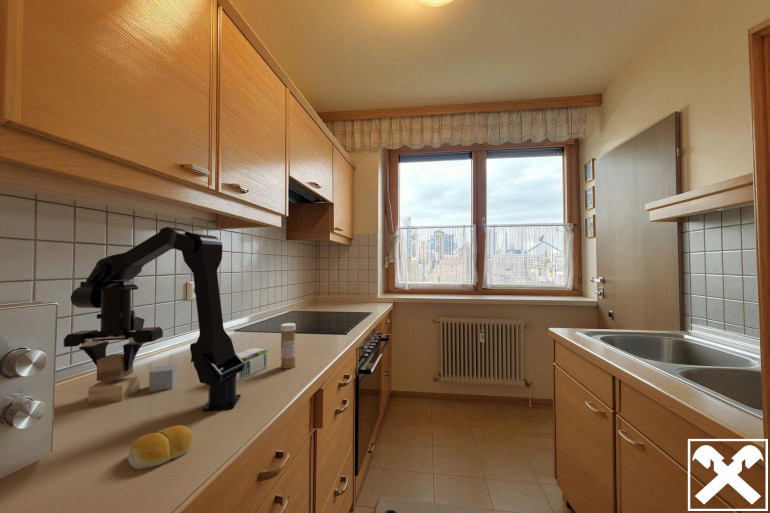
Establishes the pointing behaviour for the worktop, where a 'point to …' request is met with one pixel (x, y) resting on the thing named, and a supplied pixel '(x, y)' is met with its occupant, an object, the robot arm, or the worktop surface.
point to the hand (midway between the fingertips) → (115, 371)
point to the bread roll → (160, 447)
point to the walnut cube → (112, 368)
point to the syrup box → (252, 362)
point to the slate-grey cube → (163, 377)
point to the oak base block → (113, 389)
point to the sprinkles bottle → (288, 345)
